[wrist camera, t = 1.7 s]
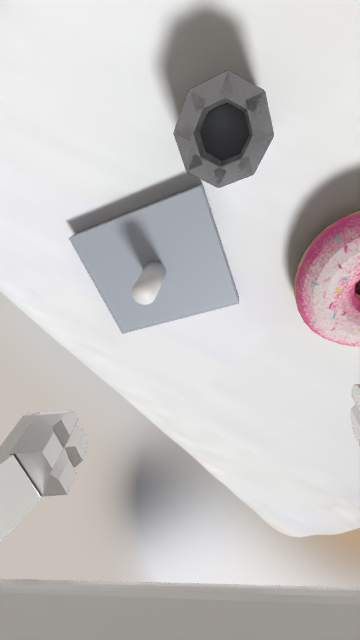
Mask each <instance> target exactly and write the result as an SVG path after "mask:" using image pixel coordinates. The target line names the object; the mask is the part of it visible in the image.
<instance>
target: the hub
mask: <svg viewBox="0 0 360 640" xmlns="http://www.w3.org/2000/svg"><path fill="white" fill-rule="evenodd" d="M225 103H228V104H230V105H232V106H234V107H236V108H238V109H240V110H241V111H243V112H245V116H246V120H247V125H248V129H249V133H250V134H249V136H248V138H247V140H246V142H245V144H244V146H243V149H242V151H241V153H240V154H238V155H235V156H233V157H231V158H228V159H226V160H223V161H221V160H219V159H217V158H215V157H213V156H212V155H210V154H208V153H206V152H205V148H204V145H203V142H202V139H201V135H200V130H201V128H202V125H203V123H204V120H205V118H206V115H207V113H208V111H210V110H212V109H215V108H217V107H219V106H221V105H223V104H225ZM173 134H174V136H175V139H176V142H177V145H178V148H179V151H180V154H181V157H182V160H183V163H184V166H185V169H186V172H188V173H190V174H192V175H193V176H195V177H197V178H199V179H201V180H203V181H205V182H207V183H209V184H211V185H213V186H215V187H217V188H218V187H219V188H220V187H223V186H225V185H228V184H231V183H233V182H236V181H238V180H241V179H244V178H246V177H249V176H251V175H253V174H254V173H255V171H256V169H257V167H258V165H259V163H260V162H261V160H262V158H263V156H264V154H265V152H266V150H267V148H268V146H269V144H270V143H271V141H272V139H273V137H274V136H273V135H274V132H273V127H272V123H271V118H270V113H269V108H268V103H267V98H266V93H265V91H264V90H263V89H261V88H259V87H258V86H256V85H254V84H252V83H250V82H249V81H247V80H245V79H243V78H241V77H240V76H238V75H236V74H234V73H232V72H231V71H229V70H227V71H225V72H223V73H221V74H219V75H217V76H215V77H213V78H211V79H209V80H207V81H205V82H203V83H201V84H199V85H197V86H195V87H193V88H191V89H189V91H188V94H187V96H186V99H185V102H184V105H183V108H182V110H181V113H180V116H179V119H178V121H177V124H176V127H175V130H174V133H173Z"/></svg>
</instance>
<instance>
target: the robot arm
mask: <svg viewBox="0 0 360 640" xmlns="http://www.w3.org/2000/svg"><path fill="white" fill-rule="evenodd" d="M352 398H353V400H354V402H355V403H356V404H355V405H354V406H353V407H352V408H351V422H352V428H353V431H354V434H355V437H356V439H357V441H358V443H359V445H360V384H356V385H354V386H353V388H352ZM77 421H78V418H77V416H76V415H75V413H74V411H70V410H67V411H51V412H41V413H28V414H26V415H24V416H23V417H22V418H21V419H20V421H19V422H18V423H17V425H16V426H15V427H14V429H13V430H12V431H11V433H10V434H9V435H8V437H7V438H6V439H5V441H4V442H3V443H2V445H1V446H0V542H1V541H2V540H3V538H4V537H5V536H6V535H7V534H8V533H9V532H10V531H11V530H12V529H13V528H14V527H15V526H16V524H18V522H19V521H20V520H21V519H22V518H23V517H24V516H25V515H26V514H27V513H28V512H29V511H30V510H31V509H32V507H34V505H35V504H36V503H37V502H38V501H39V500H40V499H41V496H55V495H67V494H68V492H69V490H70V488H71V486H72V483H73V481H74V479H75V477H76V474H77V473H76V469H75V467H76V466H77V465H78V464H79V463H80V462H81V461H82V460H83V458H84V456H85V453H86V448H87V439H86V434H85V432H84V430H83V429H82V428H80V427H79V426H78V425H76V424H77ZM0 640H360V588H359V587H318V586H280V585H238V584H199V583H197V584H196V583H157V582H156V583H155V582H114V581H73V580H70V581H69V580H31V579H30V580H29V579H27V580H26V579H0Z"/></svg>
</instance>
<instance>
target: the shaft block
mask: <svg viewBox="0 0 360 640" xmlns="http://www.w3.org/2000/svg"><path fill="white" fill-rule="evenodd" d="M69 239H70V241H71V243H72V245H73V247H74V248H75V250H76V252H77V254H78V255H79V257H80V259H81V261H82V263H83V264H84V266H85V268H86V270H87V272H88V273H89V275H90V277H91V279H92V280H93V282H94V284H95V286H96V288H97V289H98V291H99V293H100V295H101V297H102V298H103V300H104V302H105V304H106V305H107V307H108V309H109V311H110V313H111V314H112V316H113V318H114V320H115V322H116V323H117V325H118V327H119V329H120V330H121V332H122V334H123V333H127V332H131V331H135V330H138V329H142V328H146V327H150V326H154V325H158V324H162V323H165V322H169V321H173V320H177V319H181V318H185V317H189V316H192V315H196V314H200V313H204V312H208V311H212V310H216V309H219V308H223V307H227V306H231V305H235V304H239V296H238V293H237V290H236V287H235V284H234V281H233V278H232V274H231V271H230V268H229V265H228V262H227V259H226V256H225V253H224V250H223V247H222V243H221V240H220V237H219V234H218V231H217V228H216V225H215V222H214V219H213V216H212V213H211V209H210V206H209V203H208V200H207V197H206V194H205V191H204V188H203V185H202V184H200V185H197V186H195V187H192V188H190V189H187V190H185V191H182V192H180V193H177V194H174V195H172V196H169V197H167V198H164V199H162V200H159V201H157V202H154V203H152V204H149V205H147V206H144V207H142V208H139V209H137V210H134V211H132V212H129V213H127V214H124V215H122V216H119V217H116V218H114V219H111V220H109V221H106V222H104V223H101V224H99V225H96V226H94V227H91V228H89V229H86V230H84V231H81V232H79V233H76V234H74V235H73V236H71V237H70V238H69Z"/></svg>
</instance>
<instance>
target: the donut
mask: <svg viewBox="0 0 360 640" xmlns="http://www.w3.org/2000/svg"><path fill="white" fill-rule="evenodd" d="M359 280H360V211H357V212H355V213H352V214H350V215H347V216H345V217H342V218H341V219H339V220H338V221H336V222H334V223H333V224H331V225H330V226H328V227H327V228H326V229H325V230H323V231H322V232H321V233H320V234H319V235H318V236H317V237H316V238H315V239H314V240H313V241H312V243H311V244H310V246H309V247H308V248H307V250H306V251H305V253H304V255H303V257H302V259H301V261H300V264H299V266H298V269H297V273H296V277H295V291H294V294H295V299H296V303H297V307H298V311H299V313H300V315H301V317H302V318H303V320H304V322H305V323H306V324H307V325H308V326H309V328H310V329H311V330H312V331H314V332H315V333H317V334H318V335H320V336H322V337H323V338H325V339H328V340H330V341H333V342H336V343H339V344H343V345H349V346H360V294H356V293H355V284H356V283H357V282H358V281H359Z"/></svg>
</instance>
